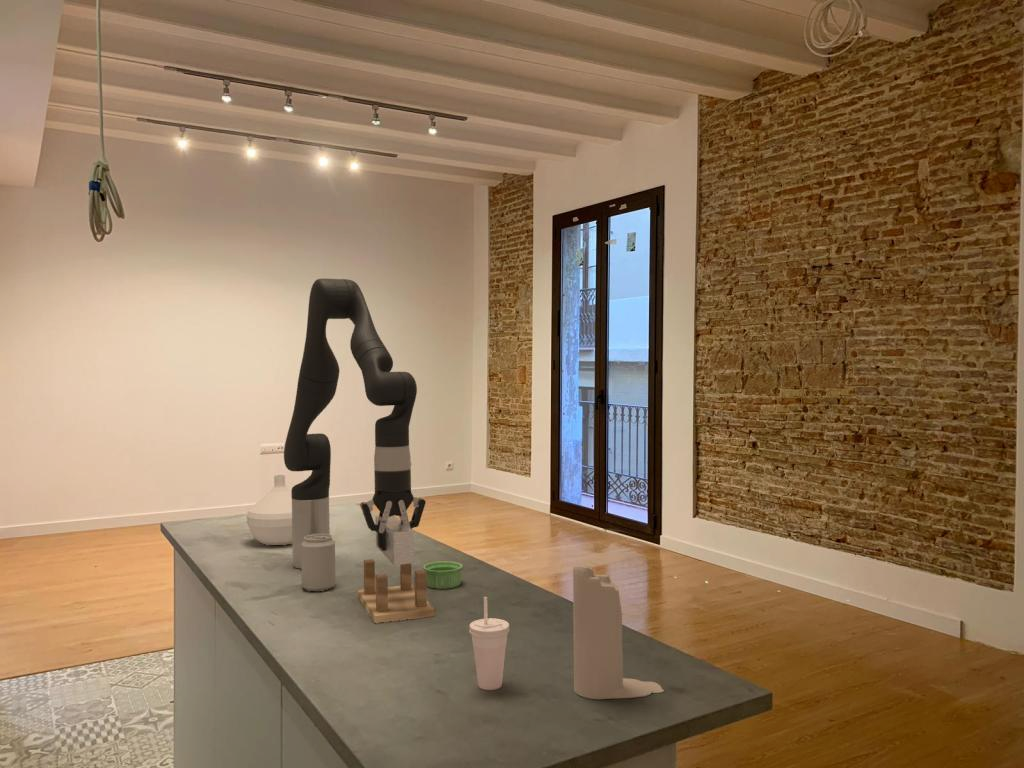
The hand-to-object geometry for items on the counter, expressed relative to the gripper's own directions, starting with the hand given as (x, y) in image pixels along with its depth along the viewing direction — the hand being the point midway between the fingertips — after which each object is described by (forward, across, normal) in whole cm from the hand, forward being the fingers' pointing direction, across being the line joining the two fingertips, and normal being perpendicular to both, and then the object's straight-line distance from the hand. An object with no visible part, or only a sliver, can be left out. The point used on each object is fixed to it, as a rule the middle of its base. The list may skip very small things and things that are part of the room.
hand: (393, 548), depth 167 cm
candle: (+13, -23, +55) cm, 61 cm away
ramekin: (+13, -14, -12) cm, 22 cm away
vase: (+12, +17, -72) cm, 75 cm away
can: (+12, +13, -20) cm, 27 cm away
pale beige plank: (+1, 0, 0) cm, 1 cm away
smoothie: (+13, -5, +46) cm, 48 cm away
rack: (+12, 0, 0) cm, 12 cm away
